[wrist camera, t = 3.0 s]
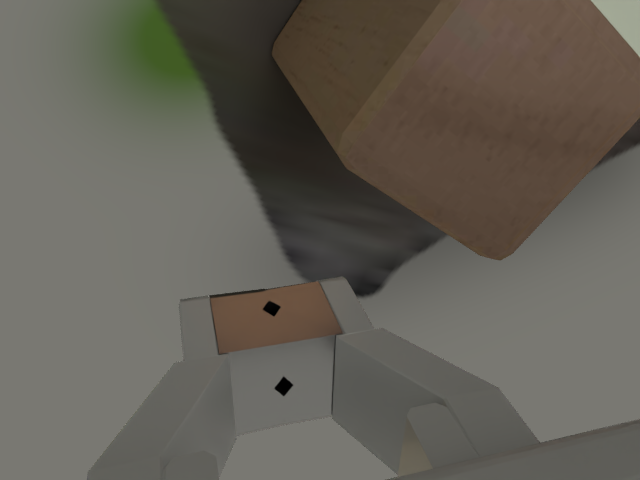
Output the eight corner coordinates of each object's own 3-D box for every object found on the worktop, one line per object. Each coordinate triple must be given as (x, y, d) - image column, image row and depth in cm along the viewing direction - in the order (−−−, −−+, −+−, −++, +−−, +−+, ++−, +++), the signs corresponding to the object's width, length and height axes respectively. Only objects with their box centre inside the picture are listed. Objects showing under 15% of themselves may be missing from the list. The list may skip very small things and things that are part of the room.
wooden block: (371, 130, 41) (504, 276, 24) (263, 52, 36) (332, 165, 19) (459, 15, 38) (681, 89, 21) (353, -85, 33) (527, -95, 16)
